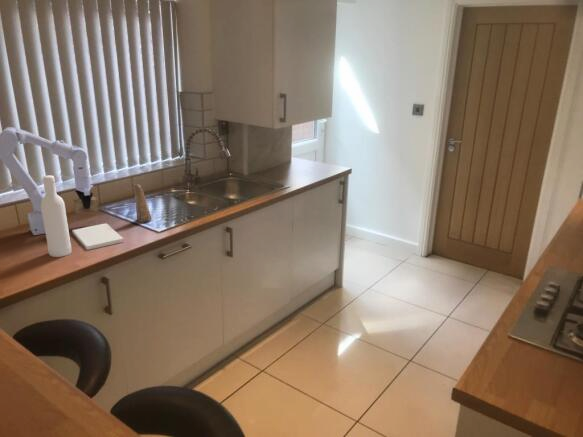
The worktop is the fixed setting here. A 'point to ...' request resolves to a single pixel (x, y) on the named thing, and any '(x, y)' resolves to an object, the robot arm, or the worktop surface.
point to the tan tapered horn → (141, 205)
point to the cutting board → (97, 236)
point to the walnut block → (80, 209)
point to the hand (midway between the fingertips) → (85, 207)
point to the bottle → (55, 220)
